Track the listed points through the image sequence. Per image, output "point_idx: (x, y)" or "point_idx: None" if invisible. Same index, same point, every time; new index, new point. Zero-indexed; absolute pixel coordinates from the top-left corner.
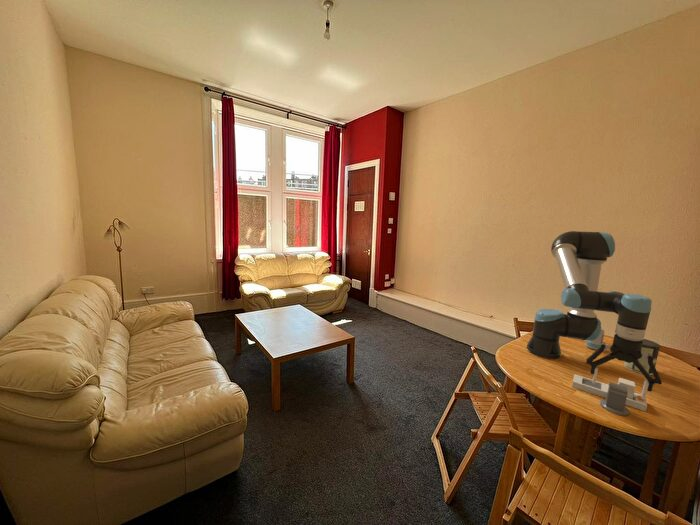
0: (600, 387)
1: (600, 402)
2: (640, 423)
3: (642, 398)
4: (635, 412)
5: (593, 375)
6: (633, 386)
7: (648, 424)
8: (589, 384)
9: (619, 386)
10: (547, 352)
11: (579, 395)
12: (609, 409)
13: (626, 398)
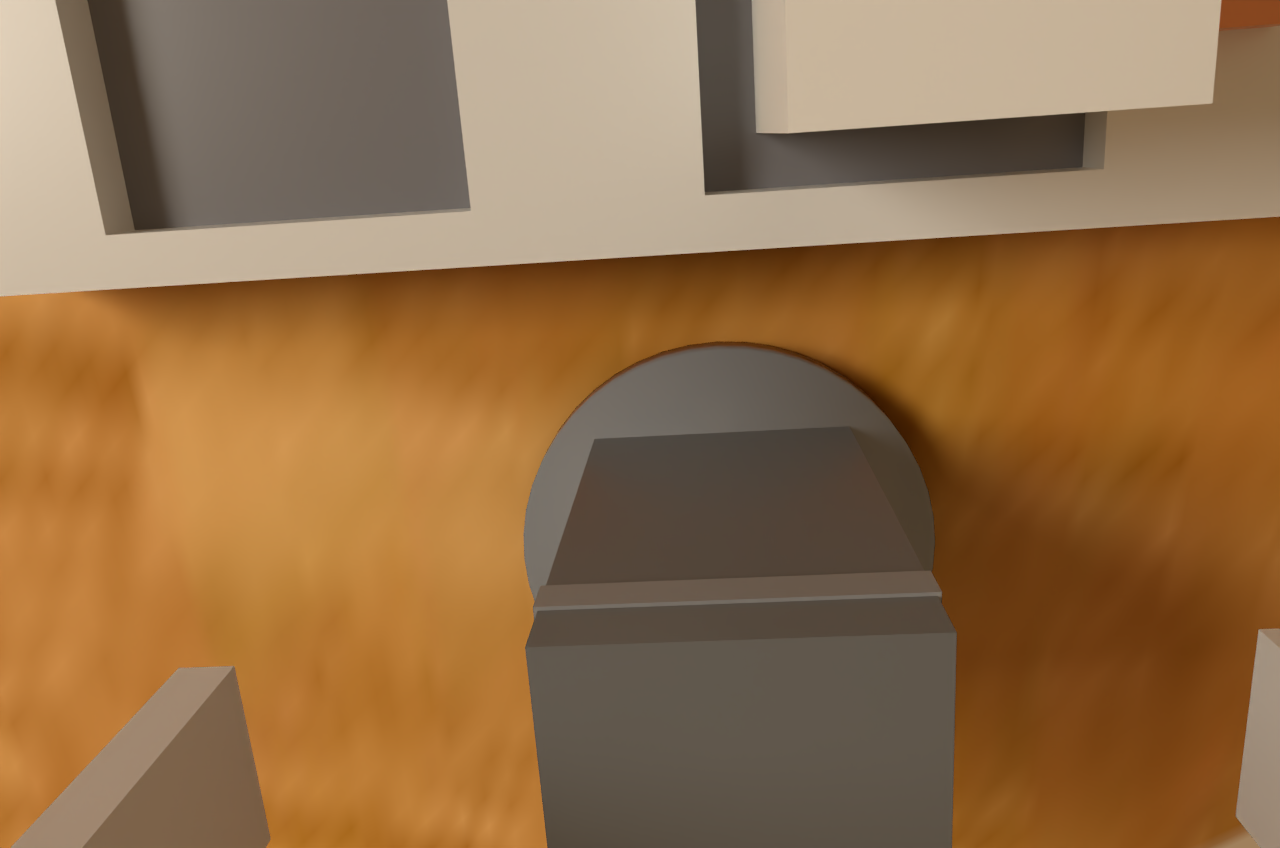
0: None
1: (530, 584)
2: (1056, 716)
3: (1254, 835)
4: (1031, 400)
5: (83, 777)
6: (1158, 104)
7: (1162, 658)
8: (238, 12)
9: (772, 764)
10: None
11: (230, 522)
12: None
13: (926, 225)
